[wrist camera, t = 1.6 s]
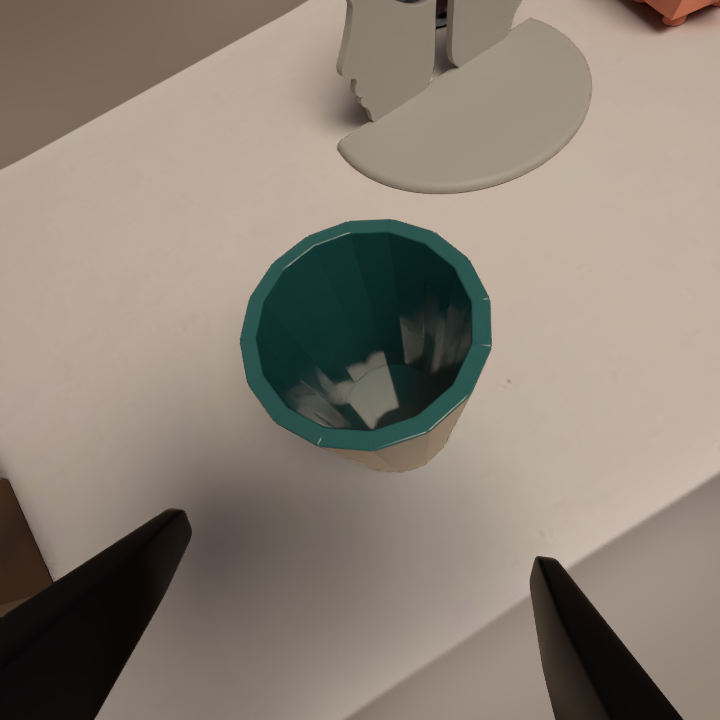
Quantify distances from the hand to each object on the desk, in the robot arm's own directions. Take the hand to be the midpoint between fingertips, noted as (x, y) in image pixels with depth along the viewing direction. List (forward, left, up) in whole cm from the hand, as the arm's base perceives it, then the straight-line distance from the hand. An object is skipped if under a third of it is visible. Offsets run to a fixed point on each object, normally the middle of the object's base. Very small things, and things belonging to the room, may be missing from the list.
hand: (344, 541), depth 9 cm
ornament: (+31, -6, -12) cm, 34 cm away
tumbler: (+6, 0, -12) cm, 13 cm away
